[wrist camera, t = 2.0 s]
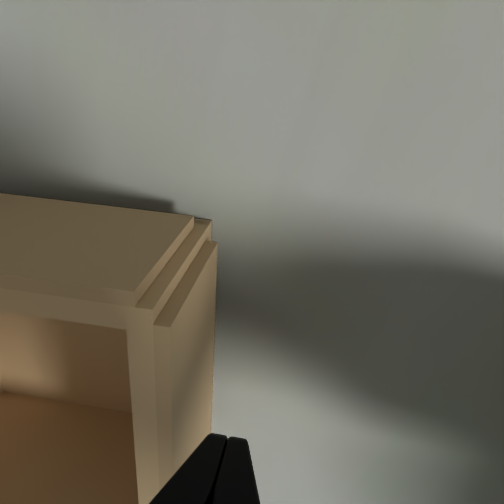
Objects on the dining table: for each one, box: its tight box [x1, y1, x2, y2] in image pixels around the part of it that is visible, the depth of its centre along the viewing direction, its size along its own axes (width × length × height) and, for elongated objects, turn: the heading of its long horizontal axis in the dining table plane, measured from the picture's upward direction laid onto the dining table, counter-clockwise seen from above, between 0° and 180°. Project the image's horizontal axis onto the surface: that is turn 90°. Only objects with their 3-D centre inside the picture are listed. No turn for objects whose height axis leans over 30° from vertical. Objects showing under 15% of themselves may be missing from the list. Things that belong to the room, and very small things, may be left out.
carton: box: [0, 193, 218, 504], centre depth 18 cm, size 12×13×7 cm
